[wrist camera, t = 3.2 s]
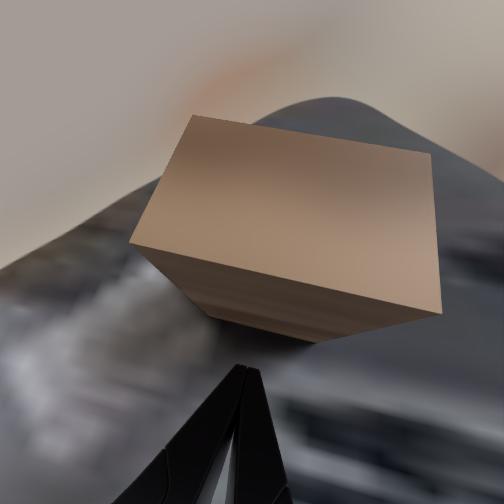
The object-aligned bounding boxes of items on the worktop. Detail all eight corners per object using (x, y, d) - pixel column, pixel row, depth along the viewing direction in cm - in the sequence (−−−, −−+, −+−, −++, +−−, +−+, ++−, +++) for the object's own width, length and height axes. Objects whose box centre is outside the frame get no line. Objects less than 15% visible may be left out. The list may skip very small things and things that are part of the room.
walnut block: (315, 343, 15) (442, 313, 5) (209, 316, 16) (128, 242, 6) (324, 272, 17) (429, 146, 7) (229, 251, 18) (195, 108, 8)
